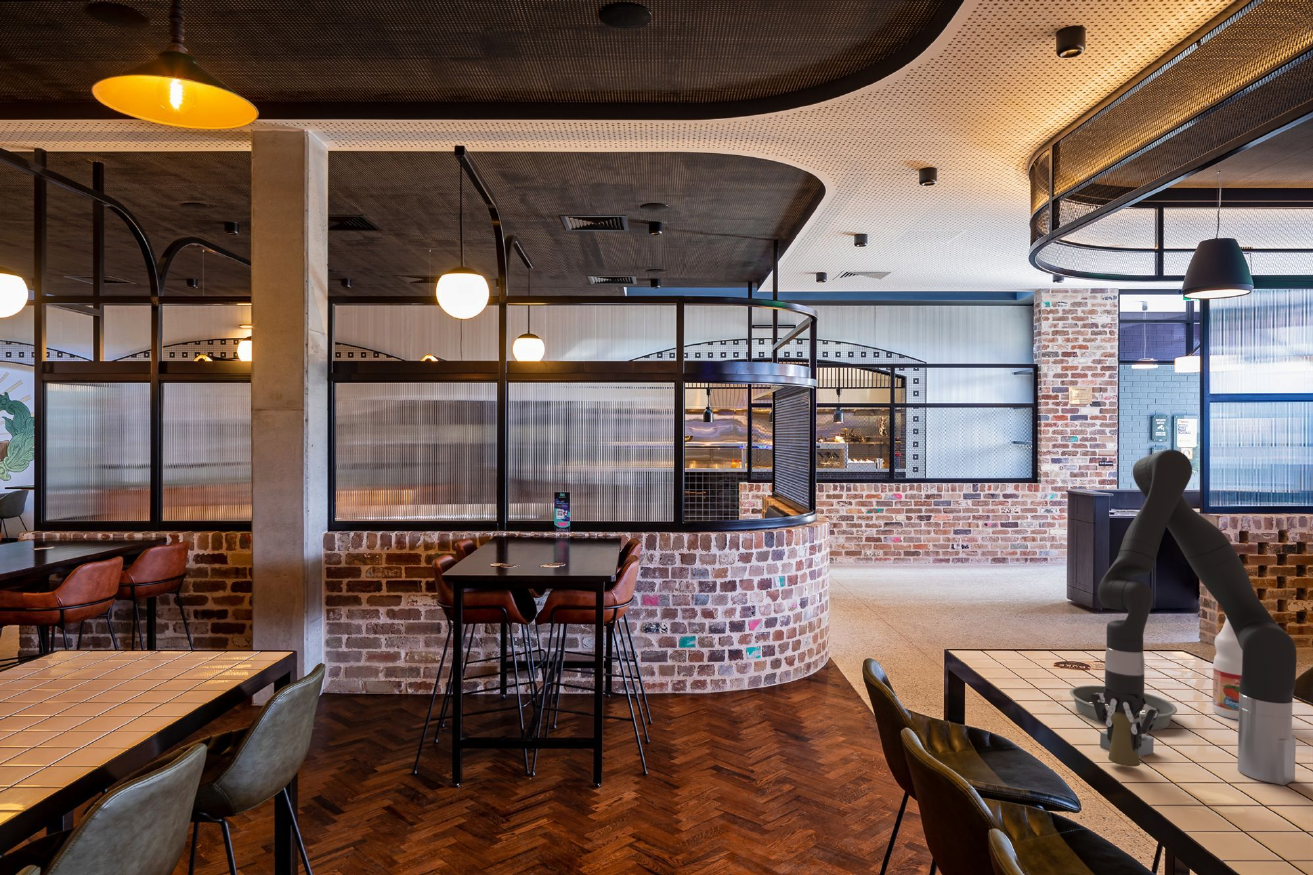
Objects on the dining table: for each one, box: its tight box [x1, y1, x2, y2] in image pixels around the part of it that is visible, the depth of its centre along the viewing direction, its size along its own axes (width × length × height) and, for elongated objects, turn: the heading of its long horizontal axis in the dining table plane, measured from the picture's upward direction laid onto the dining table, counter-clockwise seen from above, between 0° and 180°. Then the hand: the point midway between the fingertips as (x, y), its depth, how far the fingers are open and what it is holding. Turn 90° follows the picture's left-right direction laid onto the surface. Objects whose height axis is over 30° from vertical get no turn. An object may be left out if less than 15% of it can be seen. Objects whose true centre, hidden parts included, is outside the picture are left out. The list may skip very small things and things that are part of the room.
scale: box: [1099, 729, 1155, 758], centre depth 181 cm, size 8×8×5 cm
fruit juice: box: [1212, 614, 1242, 721], centre depth 207 cm, size 9×9×28 cm
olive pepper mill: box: [1107, 711, 1141, 768], centre depth 170 cm, size 6×6×11 cm
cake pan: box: [1069, 685, 1178, 731], centre depth 205 cm, size 25×25×4 cm
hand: (1123, 746), depth 170 cm, fingers closed on olive pepper mill, 4 cm apart
